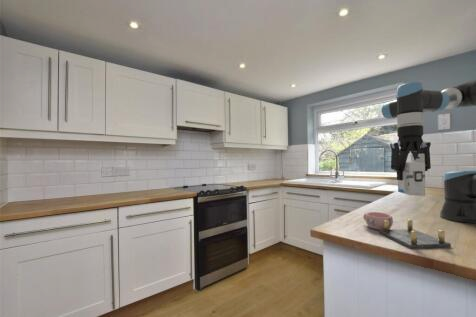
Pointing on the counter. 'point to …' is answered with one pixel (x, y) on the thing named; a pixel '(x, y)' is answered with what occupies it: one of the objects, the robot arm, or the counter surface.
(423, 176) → the ink box
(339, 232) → the counter surface
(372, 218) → the pink bowl
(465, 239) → the counter surface
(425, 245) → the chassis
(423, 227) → the counter surface
